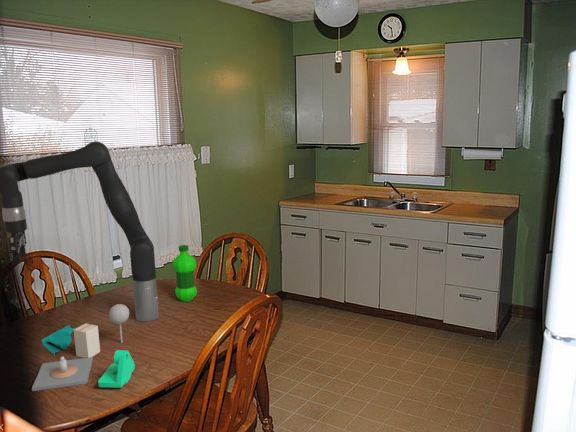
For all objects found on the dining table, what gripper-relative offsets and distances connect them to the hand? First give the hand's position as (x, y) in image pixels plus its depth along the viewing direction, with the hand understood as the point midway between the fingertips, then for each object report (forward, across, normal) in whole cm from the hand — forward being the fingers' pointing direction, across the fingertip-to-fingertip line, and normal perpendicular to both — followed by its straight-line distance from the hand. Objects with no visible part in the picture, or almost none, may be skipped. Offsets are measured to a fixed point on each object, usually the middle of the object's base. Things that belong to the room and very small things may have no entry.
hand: (20, 259), depth 193 cm
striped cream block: (+29, -27, -25) cm, 47 cm away
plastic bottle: (+30, +16, -62) cm, 70 cm away
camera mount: (+30, -48, -36) cm, 67 cm away
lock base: (+29, -40, -19) cm, 53 cm away
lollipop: (+30, -20, -36) cm, 51 cm away
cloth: (+30, -12, -13) cm, 35 cm away
